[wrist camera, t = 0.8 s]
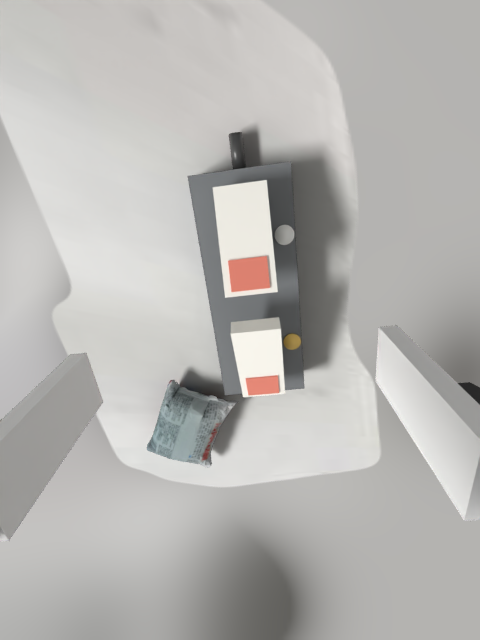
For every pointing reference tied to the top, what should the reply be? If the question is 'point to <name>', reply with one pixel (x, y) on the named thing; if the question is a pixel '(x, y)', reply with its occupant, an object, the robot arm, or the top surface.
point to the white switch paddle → (259, 356)
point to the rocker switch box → (285, 265)
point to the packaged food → (188, 425)
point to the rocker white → (245, 238)
